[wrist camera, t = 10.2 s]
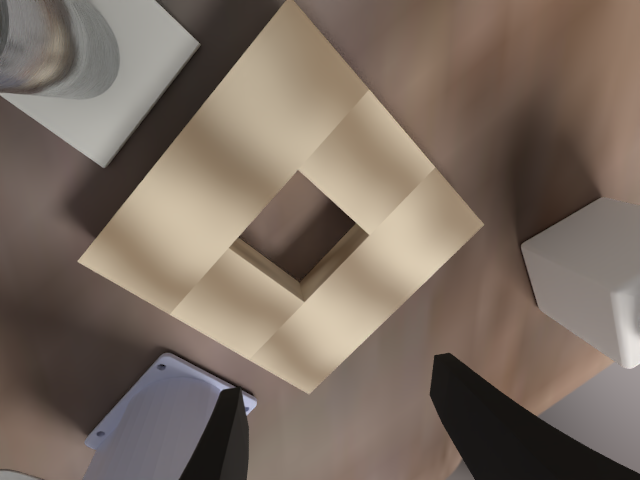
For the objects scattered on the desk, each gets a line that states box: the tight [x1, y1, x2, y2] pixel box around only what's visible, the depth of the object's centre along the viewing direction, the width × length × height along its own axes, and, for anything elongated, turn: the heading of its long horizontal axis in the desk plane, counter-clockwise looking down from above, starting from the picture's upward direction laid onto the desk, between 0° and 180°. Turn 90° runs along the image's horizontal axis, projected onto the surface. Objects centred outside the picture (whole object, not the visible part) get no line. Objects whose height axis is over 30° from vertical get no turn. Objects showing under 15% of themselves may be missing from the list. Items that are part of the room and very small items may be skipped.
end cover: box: [0, 0, 120, 100], centre depth 11 cm, size 4×4×8 cm
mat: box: [0, 0, 201, 168], centre depth 15 cm, size 8×8×1 cm
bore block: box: [77, 0, 484, 394], centre depth 19 cm, size 16×16×2 cm
